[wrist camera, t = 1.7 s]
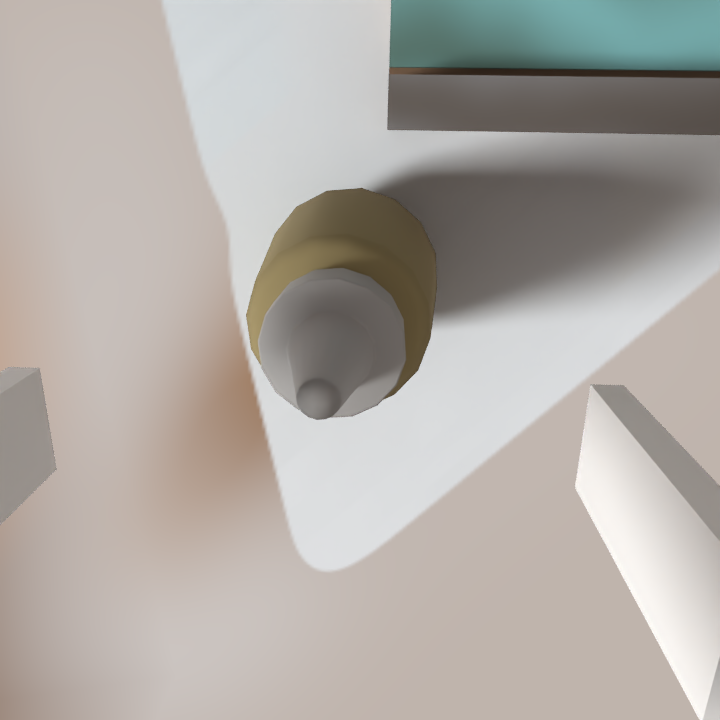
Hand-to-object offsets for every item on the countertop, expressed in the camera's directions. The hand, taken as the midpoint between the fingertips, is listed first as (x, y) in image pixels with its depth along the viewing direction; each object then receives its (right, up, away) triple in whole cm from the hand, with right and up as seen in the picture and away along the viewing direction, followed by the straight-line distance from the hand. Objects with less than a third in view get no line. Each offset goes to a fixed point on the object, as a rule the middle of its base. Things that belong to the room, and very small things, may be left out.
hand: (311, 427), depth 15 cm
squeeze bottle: (+1, +7, +18) cm, 19 cm away
